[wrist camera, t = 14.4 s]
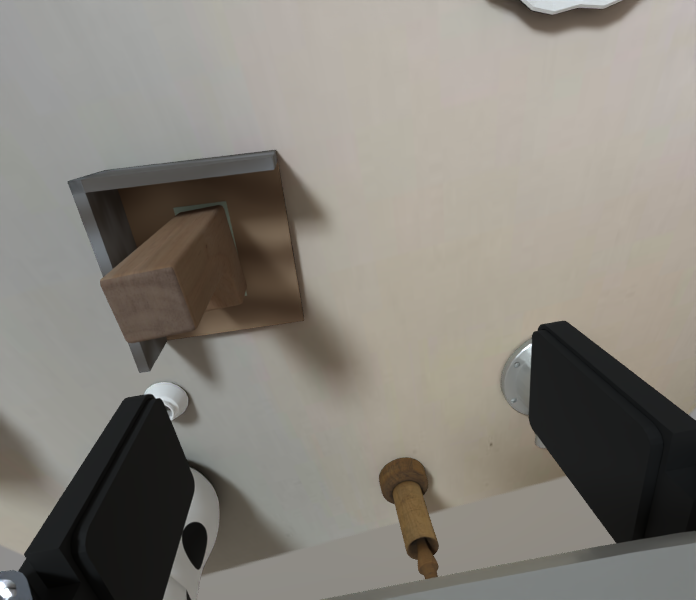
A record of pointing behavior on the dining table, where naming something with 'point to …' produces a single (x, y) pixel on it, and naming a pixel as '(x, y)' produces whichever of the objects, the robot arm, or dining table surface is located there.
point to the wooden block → (176, 277)
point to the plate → (565, 5)
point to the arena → (189, 194)
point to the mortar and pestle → (411, 510)
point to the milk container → (194, 541)
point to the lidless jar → (170, 397)
